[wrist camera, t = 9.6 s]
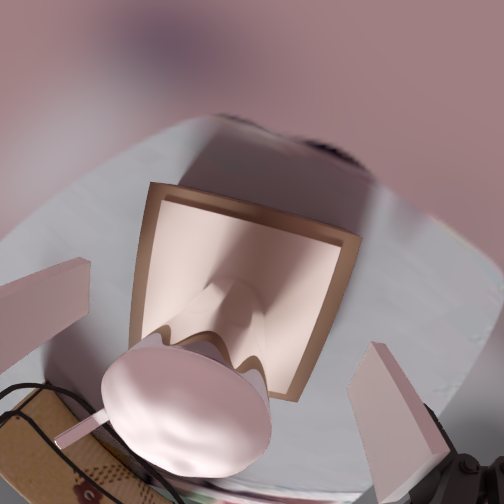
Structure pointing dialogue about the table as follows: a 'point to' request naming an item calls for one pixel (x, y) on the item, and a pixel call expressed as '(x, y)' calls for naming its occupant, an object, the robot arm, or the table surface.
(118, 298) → the table surface
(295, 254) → the dock
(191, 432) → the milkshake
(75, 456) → the clutch purse
